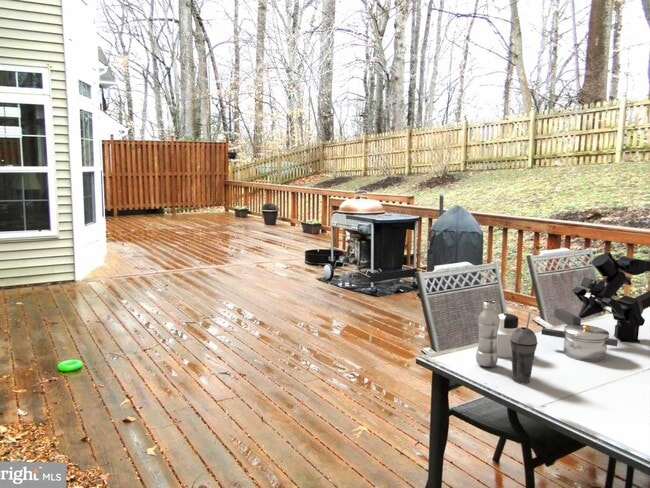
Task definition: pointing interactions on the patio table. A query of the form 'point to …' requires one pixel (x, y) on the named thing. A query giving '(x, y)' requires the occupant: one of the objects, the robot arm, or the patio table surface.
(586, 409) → the patio table surface
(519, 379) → the beverage cup
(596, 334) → the cooker lid
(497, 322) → the plastic bottle
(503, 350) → the container
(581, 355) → the cooker pot
